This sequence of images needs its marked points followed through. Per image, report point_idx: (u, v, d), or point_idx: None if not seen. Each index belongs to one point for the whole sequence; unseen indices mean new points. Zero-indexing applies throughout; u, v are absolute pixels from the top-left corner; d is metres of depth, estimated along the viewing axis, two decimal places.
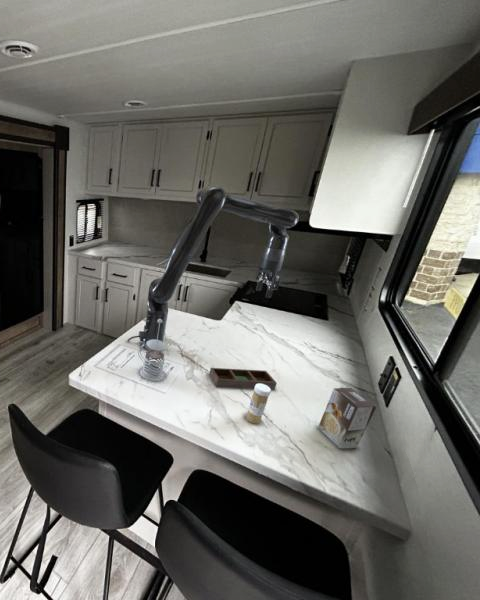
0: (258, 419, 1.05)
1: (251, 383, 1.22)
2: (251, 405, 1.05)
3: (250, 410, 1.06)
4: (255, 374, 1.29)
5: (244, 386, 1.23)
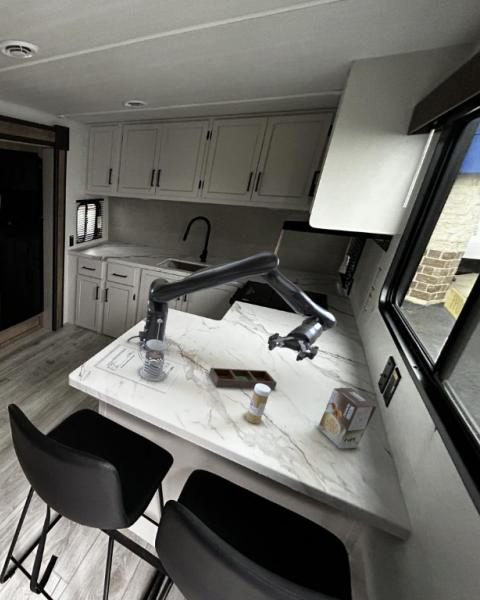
0: (258, 419, 1.05)
1: (251, 383, 1.22)
2: (251, 405, 1.05)
3: (250, 410, 1.06)
4: (255, 374, 1.29)
5: (244, 386, 1.23)
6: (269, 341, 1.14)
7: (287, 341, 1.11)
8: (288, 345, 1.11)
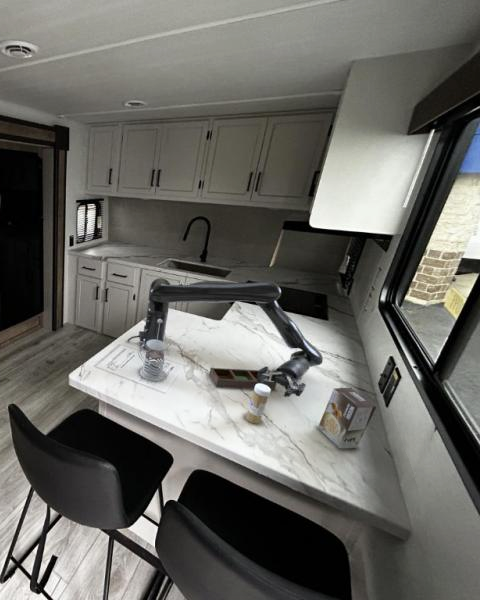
0: (258, 419, 1.05)
1: (251, 383, 1.22)
2: (251, 405, 1.05)
3: (250, 410, 1.06)
4: (255, 374, 1.29)
5: (244, 386, 1.23)
6: (258, 374, 1.17)
7: (276, 376, 1.15)
8: (276, 380, 1.14)
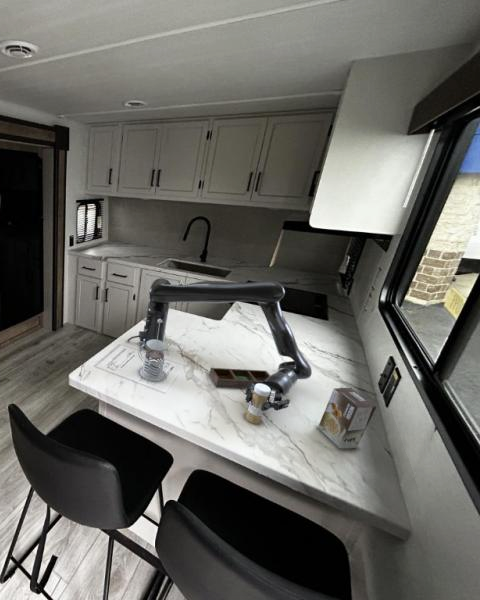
0: (258, 419, 1.05)
1: None
2: (251, 405, 1.05)
3: (250, 410, 1.06)
4: (255, 374, 1.29)
5: (244, 386, 1.23)
6: (247, 392, 1.09)
7: None
8: None
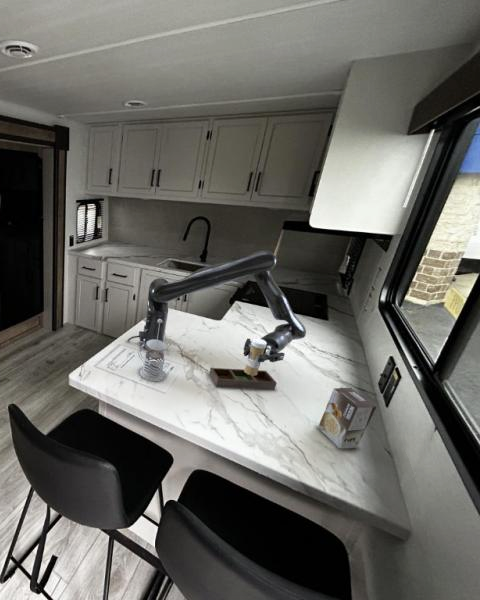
0: (255, 371, 1.14)
1: (251, 383, 1.22)
2: (248, 358, 1.14)
3: (248, 363, 1.15)
4: None
5: (244, 386, 1.23)
6: (245, 347, 1.18)
7: None
8: None
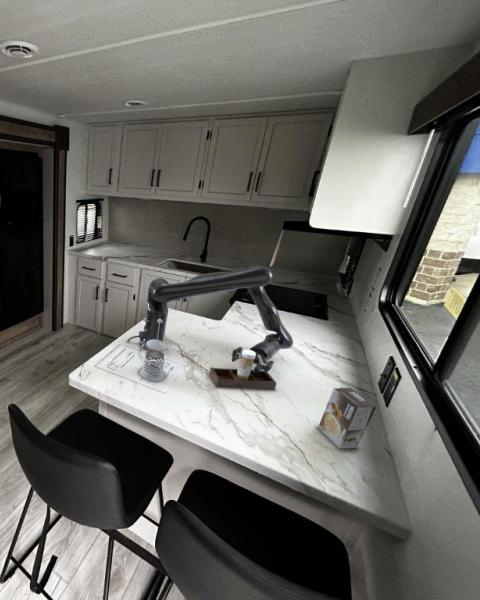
0: (245, 379, 1.24)
1: (251, 383, 1.22)
2: (239, 368, 1.24)
3: (239, 372, 1.25)
4: (255, 374, 1.29)
5: (244, 386, 1.23)
6: (233, 353, 1.30)
7: None
8: None
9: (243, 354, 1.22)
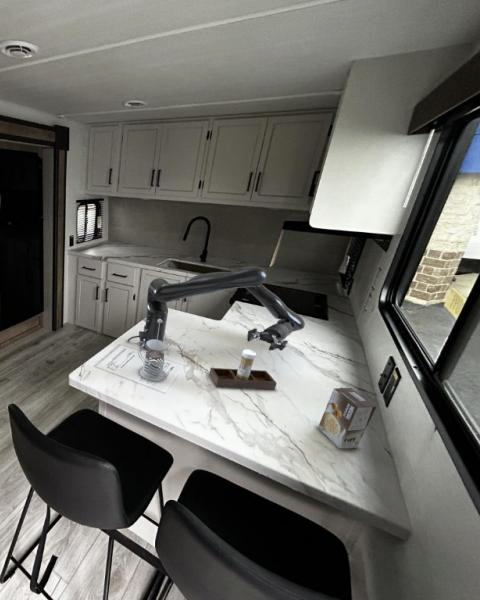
0: (245, 379, 1.24)
1: (251, 383, 1.22)
2: (239, 368, 1.24)
3: (239, 372, 1.25)
4: (255, 374, 1.29)
5: (244, 386, 1.23)
6: (248, 334, 1.36)
7: (263, 335, 1.34)
8: (263, 338, 1.33)
9: (243, 354, 1.22)
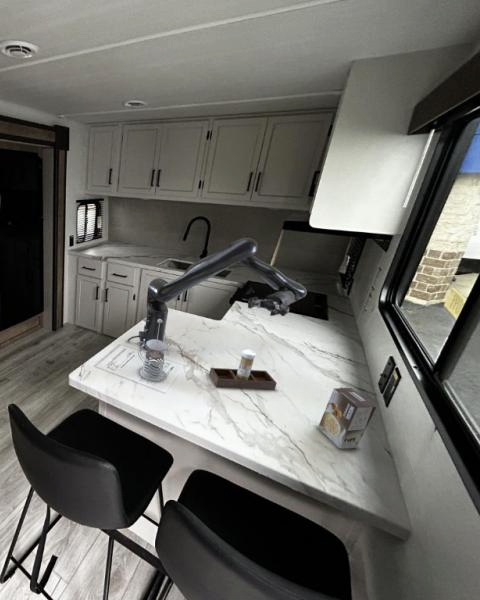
0: (245, 379, 1.24)
1: (251, 383, 1.22)
2: (239, 368, 1.24)
3: (239, 372, 1.25)
4: (255, 374, 1.29)
5: (244, 386, 1.23)
6: (249, 302, 1.33)
7: (264, 302, 1.30)
8: (264, 305, 1.30)
9: (243, 354, 1.22)
